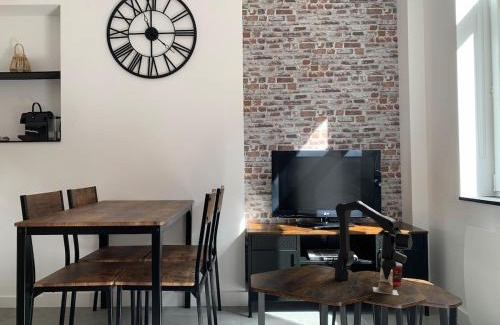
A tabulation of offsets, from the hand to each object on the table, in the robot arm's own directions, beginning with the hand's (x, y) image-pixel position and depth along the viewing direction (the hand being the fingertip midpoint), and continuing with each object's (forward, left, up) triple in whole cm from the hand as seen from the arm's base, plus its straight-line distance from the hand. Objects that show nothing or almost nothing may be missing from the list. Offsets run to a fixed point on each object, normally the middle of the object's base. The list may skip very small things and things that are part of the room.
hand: (386, 277), depth 180 cm
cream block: (0, 0, -6) cm, 6 cm away
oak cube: (0, 0, -1) cm, 1 cm away
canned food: (+5, +16, -7) cm, 18 cm away
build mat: (0, 0, -7) cm, 7 cm away
